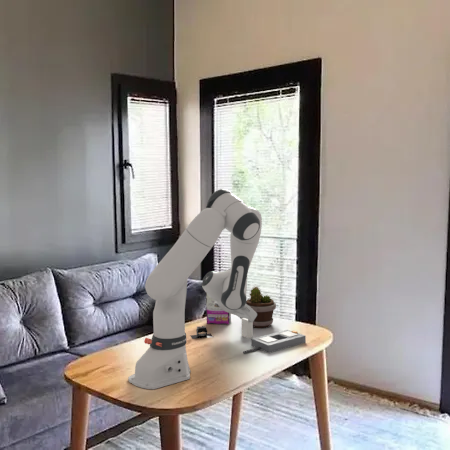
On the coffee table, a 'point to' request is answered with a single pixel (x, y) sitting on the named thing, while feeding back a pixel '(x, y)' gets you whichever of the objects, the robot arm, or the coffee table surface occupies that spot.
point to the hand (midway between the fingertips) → (247, 319)
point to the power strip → (277, 341)
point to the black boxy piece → (204, 335)
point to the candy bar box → (216, 313)
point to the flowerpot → (261, 308)
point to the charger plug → (247, 328)
